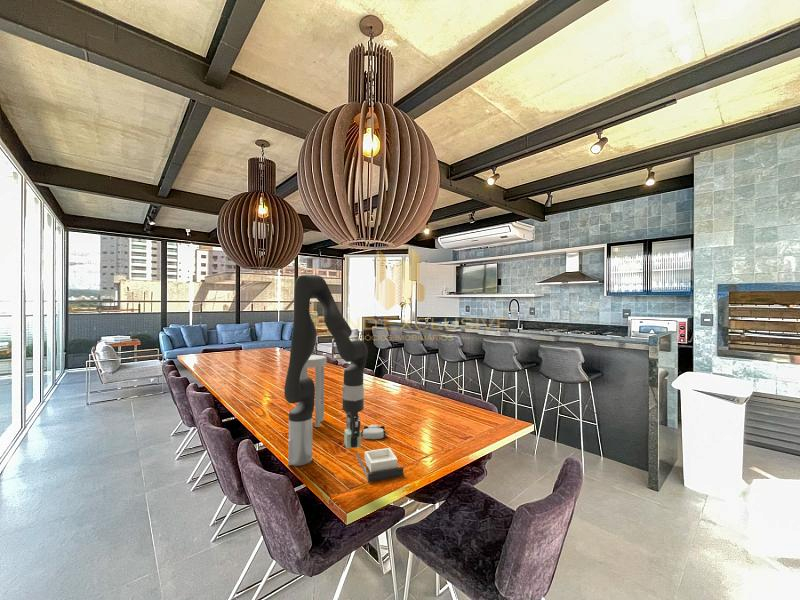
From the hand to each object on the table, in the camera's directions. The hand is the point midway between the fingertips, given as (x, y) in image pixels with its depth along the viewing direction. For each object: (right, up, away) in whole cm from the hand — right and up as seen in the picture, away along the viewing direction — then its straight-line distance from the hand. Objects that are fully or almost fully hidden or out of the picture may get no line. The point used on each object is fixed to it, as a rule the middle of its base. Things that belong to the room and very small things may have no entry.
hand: (352, 443), depth 120 cm
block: (0, -1, 0) cm, 1 cm away
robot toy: (+4, -14, +39) cm, 42 cm away
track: (+9, -13, +9) cm, 18 cm away
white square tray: (+10, -12, +5) cm, 16 cm away
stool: (-30, -14, +56) cm, 65 cm away
